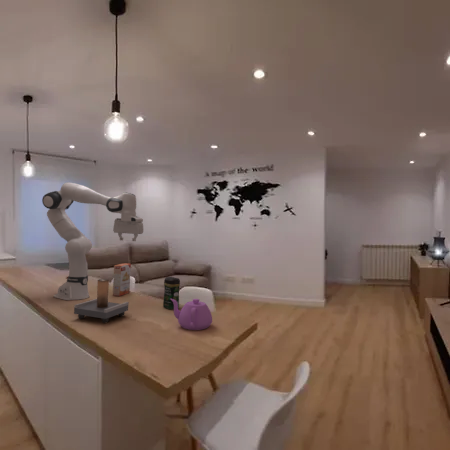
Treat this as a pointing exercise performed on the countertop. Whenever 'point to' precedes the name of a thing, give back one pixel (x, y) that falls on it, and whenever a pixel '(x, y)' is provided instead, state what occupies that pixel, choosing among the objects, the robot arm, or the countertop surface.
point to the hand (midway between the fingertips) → (127, 240)
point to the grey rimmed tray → (100, 310)
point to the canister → (102, 293)
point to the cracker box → (121, 279)
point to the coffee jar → (171, 292)
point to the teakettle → (193, 315)
